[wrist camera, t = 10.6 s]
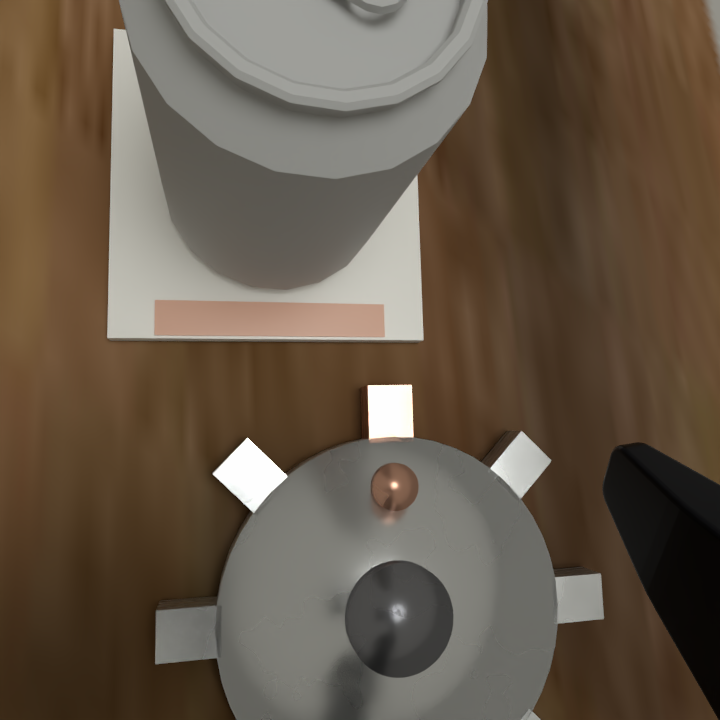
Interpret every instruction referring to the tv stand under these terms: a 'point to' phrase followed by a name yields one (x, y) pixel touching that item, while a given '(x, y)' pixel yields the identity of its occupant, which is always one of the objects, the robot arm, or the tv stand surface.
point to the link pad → (225, 295)
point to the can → (297, 119)
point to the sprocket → (383, 581)
